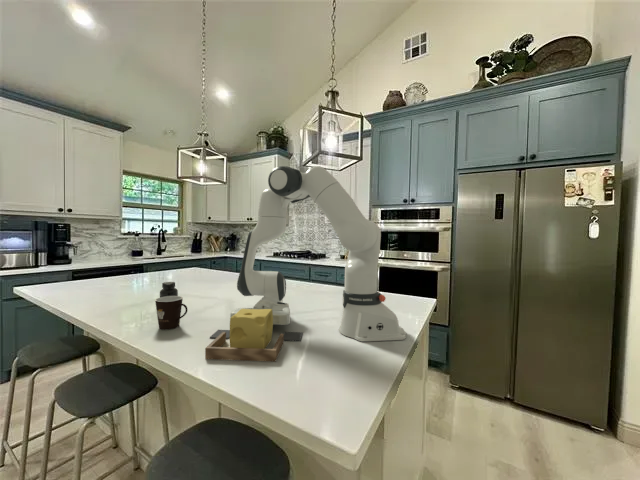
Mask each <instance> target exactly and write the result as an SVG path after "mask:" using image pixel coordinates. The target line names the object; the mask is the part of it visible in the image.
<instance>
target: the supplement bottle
mask: <svg viewBox="0 0 640 480" xmlns="http://www.w3.org/2000/svg"><path fill="white" fill-rule="evenodd" d="M161 288H162V289H161V290H159V298H160V297H166V296H179V290H178V289H177V288H176V282H175V281H165V282H162V285H161Z"/></svg>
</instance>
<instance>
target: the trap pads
mask: <svg viewBox="0 0 640 480" xmlns="http://www.w3.org/2000/svg"><path fill="white" fill-rule="evenodd" d="M222 332H226V340H230V329H217V330H216V331H215V332H214V333H212V335H210V336H209V339H211V340H212V339H214V340H215V339H216V338H217V337H218V336H219V335H220V334H221V333H222ZM303 333H304V332H302V331H284V333H283V334H284V341H285V342H301V340H302V336H303V335H304V334H303ZM284 341H283V342H284Z"/></svg>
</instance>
